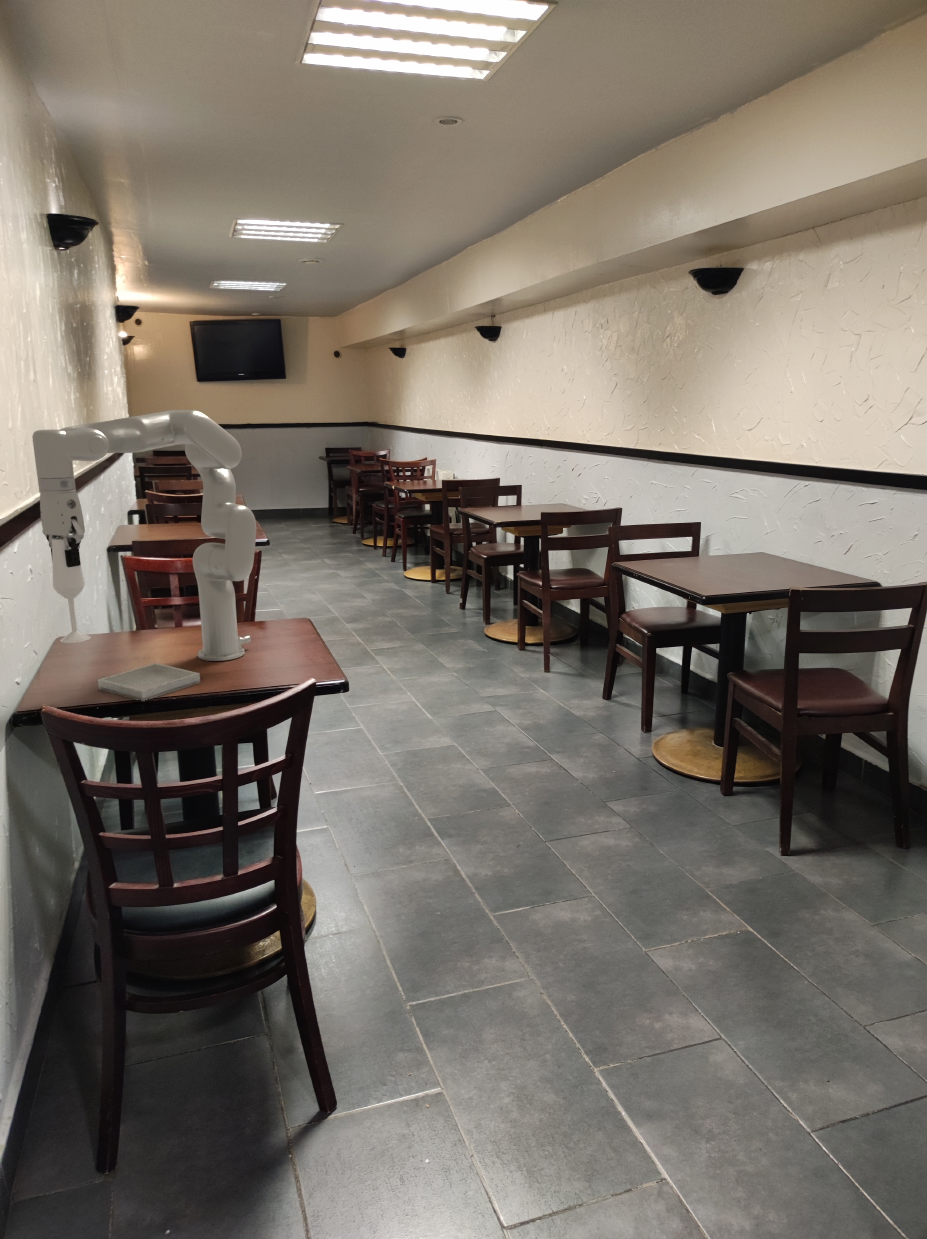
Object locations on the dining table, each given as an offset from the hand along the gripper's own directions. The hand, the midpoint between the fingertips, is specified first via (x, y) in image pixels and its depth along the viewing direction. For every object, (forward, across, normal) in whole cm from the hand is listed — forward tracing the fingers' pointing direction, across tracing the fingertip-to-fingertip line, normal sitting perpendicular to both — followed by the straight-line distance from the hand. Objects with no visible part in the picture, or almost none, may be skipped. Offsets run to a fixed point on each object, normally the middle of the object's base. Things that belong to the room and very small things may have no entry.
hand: (66, 564), depth 196 cm
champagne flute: (+18, 0, 0) cm, 18 cm away
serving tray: (+32, -7, -14) cm, 36 cm away
